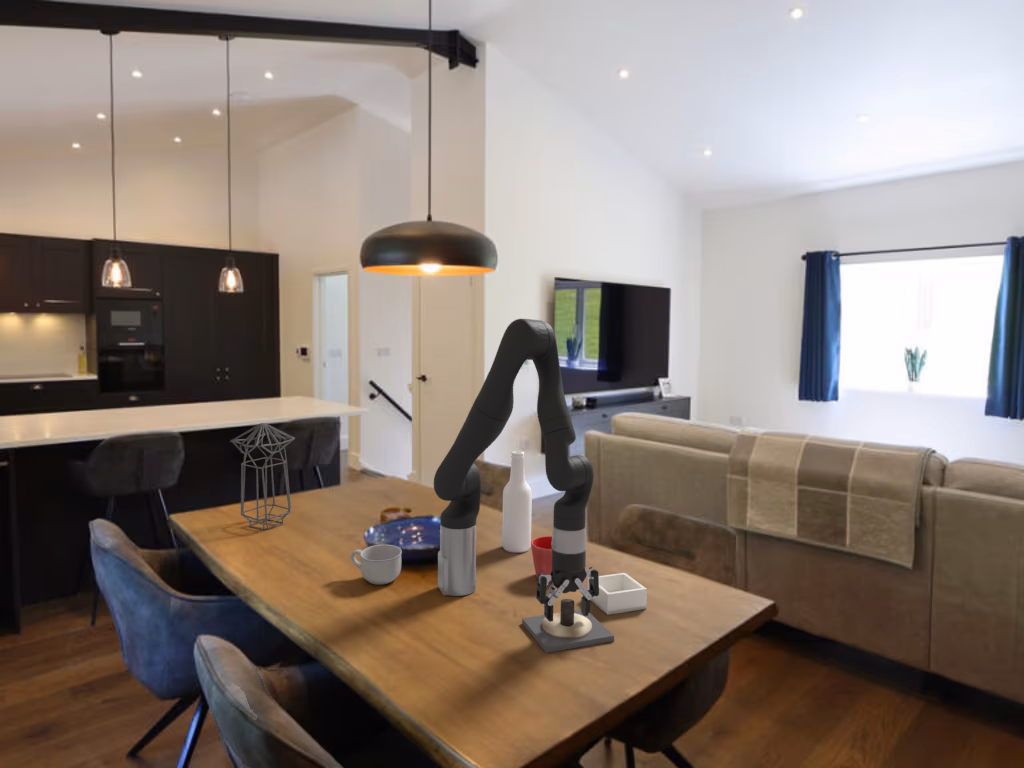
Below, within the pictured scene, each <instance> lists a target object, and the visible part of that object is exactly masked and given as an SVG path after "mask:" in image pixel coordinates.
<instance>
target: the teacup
mask: <svg viewBox="0 0 1024 768" xmlns="http://www.w3.org/2000/svg"><path fill="white" fill-rule="evenodd" d="M402 552H403V551H402V549H401V548H400V547H398V546H397V545H394V544H393V545H392V544H377V545H376V544H375V545H371V546H368V547H366V548H364V549H362V550H361V549H355V550H353V551H352V553H351V555H350V560H351V562H352V563H353V565H355V566H356V567H357V568H358V569H360V571H361V575H362V577H363V579H365V580H366V581H367V582H368V583H369V584H373V585H375V586H376V585H377V586H379V585H386V584H389V583H390V584H391V583H392V582H393V581H395V579H397V578H398V576H399V575H400V574H401V572H402V571H401V570H402V554H403V553H402ZM356 555H359V556H360V561H358V560H357V558H356Z"/></svg>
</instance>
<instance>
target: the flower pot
mask: <svg viewBox="0 0 1024 768" xmlns="http://www.w3.org/2000/svg"><path fill="white" fill-rule="evenodd" d="M551 542H552V535H550V536H549V535H547V536H545V535H544V536H538V537H535V538H534V539H531V547H530V548H531V554H532V560H533V567H534V571H535V577H536V578H538V574H540V573H541V574H543V575H550V573H551V571H552V565H551V563H552V545H551ZM549 583H552V581H551V580H550V581H549Z"/></svg>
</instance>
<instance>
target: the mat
mask: <svg viewBox="0 0 1024 768" xmlns="http://www.w3.org/2000/svg"><path fill="white" fill-rule="evenodd" d="M574 613H575V614H579V615H582V616H584V615H583V614H582V613H581V608H580V609H574ZM584 617H586V618H588V619H589V620H590V621H591V623H592V630H591V632H590V633H589V634H588V635H586V636H584V637H581V638H575V639H565V638H559V637H555V636H552V635H550V634H548V633H547V632H545V631H544V629H543V627H542V621H543V619H544V618H545V615H544V614H541V615H535V616H534V615H533V616H529V617H528V616H527V617H522V618H521V619H522V620H521V624H522V625H523V626H524V628H525V629H526V630H527V631H528V632H529V634H530V635H531V636H532V637H533V639H534V640H535V642H537V644H538V645H539V646H540V647H541V648H542V649H543V651H544V652H545V654H547V653H554V652H559V651H560V652H561V651H563V650H564V651H565V650H570V649H576V648H583V647H588V646H593V645H599V644H606V643H610V642H615V635H614V634H613V633H612V632H611V631H610V630H608V628H607V627H606V626H605V625H603V623H602V622H600V621H599V620H598V619H597V618H596V617H595V616H594V615H593V614H592V613H591V612H590V613H588V616H584Z"/></svg>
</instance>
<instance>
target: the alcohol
mask: <svg viewBox="0 0 1024 768" xmlns="http://www.w3.org/2000/svg"><path fill="white" fill-rule="evenodd" d="M510 457H511V461H510V462H511V463H510V474H509V480H508V482H507V484H505V486H504V487H503V490H502V526H501V527H502V532H501V533H502V537H501V539H502V541H501V546H502V548H503V550H504V551H505V552H508V553H513V554H519V553H520V554H522V553H526V552H528V551H530V548H531V541H532V501H533V500H532V499H533V497H532V496H533V494H532V488H531V486H530V485H529V484H528V483H527V481H526V472H525V471H526V469H525V452H524V451H522V450H514V451H511V455H510Z"/></svg>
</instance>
